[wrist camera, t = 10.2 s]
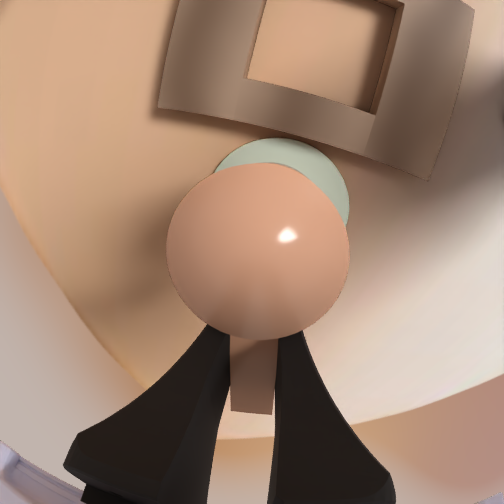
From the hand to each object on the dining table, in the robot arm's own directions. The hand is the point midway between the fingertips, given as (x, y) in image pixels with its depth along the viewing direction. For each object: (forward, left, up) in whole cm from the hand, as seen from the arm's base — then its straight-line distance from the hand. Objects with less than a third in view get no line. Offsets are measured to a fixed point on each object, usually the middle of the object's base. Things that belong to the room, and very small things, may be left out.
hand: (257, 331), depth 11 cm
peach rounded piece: (0, 0, -4) cm, 4 cm away
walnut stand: (0, -12, -10) cm, 15 cm away
